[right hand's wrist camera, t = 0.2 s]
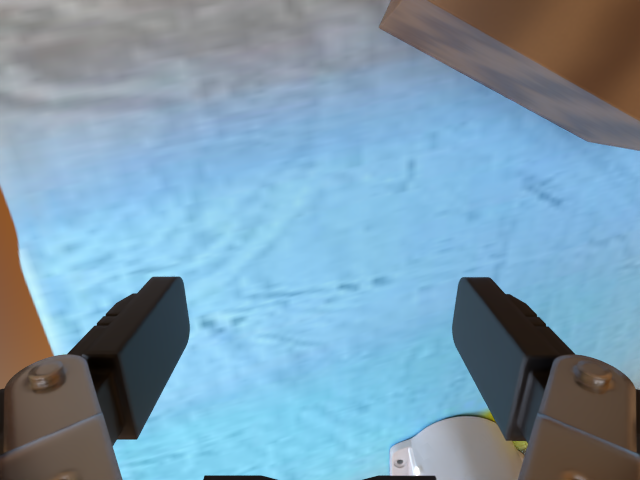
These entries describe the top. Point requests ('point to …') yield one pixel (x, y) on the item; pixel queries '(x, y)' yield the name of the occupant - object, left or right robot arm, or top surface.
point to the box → (540, 56)
